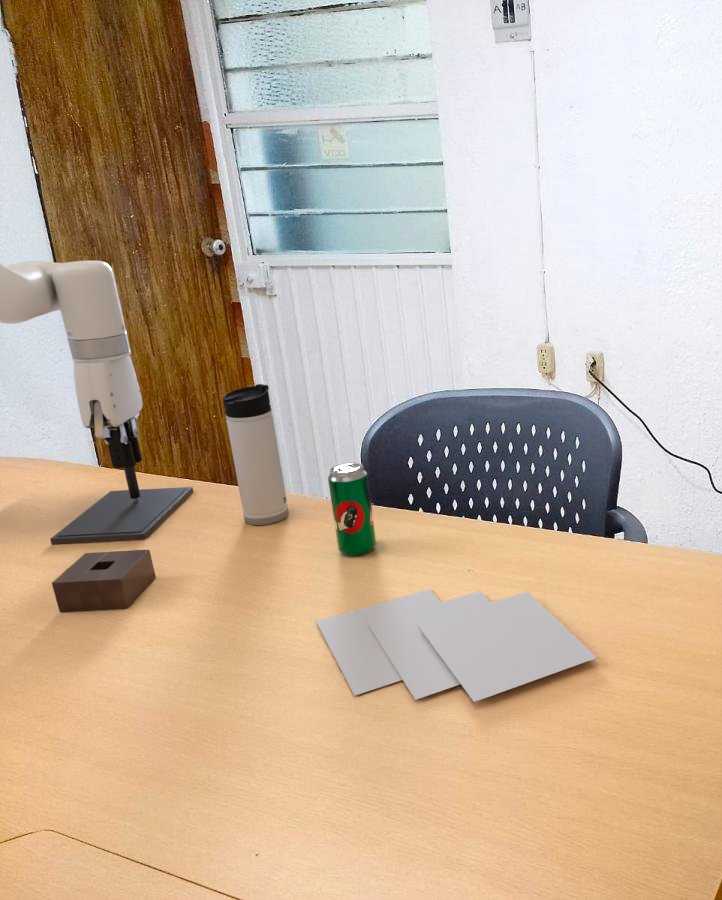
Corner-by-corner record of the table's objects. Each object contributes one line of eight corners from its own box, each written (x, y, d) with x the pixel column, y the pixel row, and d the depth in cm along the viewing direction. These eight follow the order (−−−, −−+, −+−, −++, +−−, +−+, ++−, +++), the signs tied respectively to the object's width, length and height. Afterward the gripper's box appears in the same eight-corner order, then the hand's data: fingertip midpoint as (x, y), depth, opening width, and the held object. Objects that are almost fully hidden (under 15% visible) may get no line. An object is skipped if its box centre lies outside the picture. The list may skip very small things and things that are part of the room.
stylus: (129, 503, 129) (113, 430, 125) (133, 500, 130) (117, 427, 126) (139, 503, 129) (123, 430, 125) (143, 499, 130) (127, 427, 126)
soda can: (383, 548, 114) (373, 467, 110) (350, 561, 111) (338, 478, 107) (365, 537, 118) (354, 458, 114) (332, 549, 114) (320, 468, 110)
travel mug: (299, 512, 127) (279, 386, 120) (263, 529, 121) (240, 397, 115) (272, 505, 130) (251, 381, 123) (235, 520, 124) (211, 392, 118)
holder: (59, 612, 100) (51, 582, 99) (92, 580, 108) (85, 552, 106) (127, 608, 101) (120, 579, 99) (155, 576, 108) (149, 549, 107)
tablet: (51, 544, 118) (49, 538, 118) (111, 495, 135) (110, 490, 135) (145, 539, 119) (143, 533, 119) (193, 491, 136) (192, 486, 136)
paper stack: (378, 742, 76) (377, 736, 76) (315, 621, 96) (315, 616, 96) (597, 663, 87) (597, 657, 87) (499, 569, 107) (499, 564, 107)
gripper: (99, 337, 128) (125, 449, 135) (44, 361, 114) (76, 485, 120) (149, 335, 129) (173, 446, 135) (101, 358, 114) (130, 482, 121)
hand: (127, 464), depth 128 cm, fingers closed on stylus, 1 cm apart
